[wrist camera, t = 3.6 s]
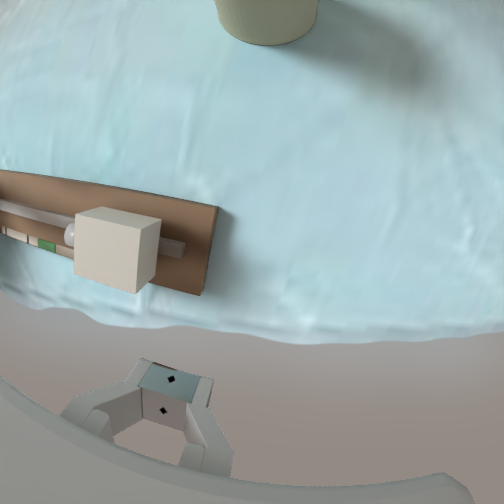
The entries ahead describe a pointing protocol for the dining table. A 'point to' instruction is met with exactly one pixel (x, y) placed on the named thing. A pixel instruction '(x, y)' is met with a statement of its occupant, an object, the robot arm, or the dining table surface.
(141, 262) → the block
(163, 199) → the gauge base
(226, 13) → the can
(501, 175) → the dining table surface
